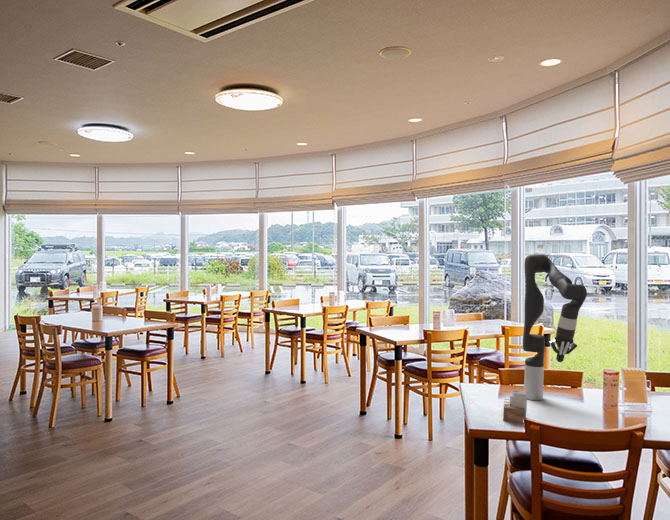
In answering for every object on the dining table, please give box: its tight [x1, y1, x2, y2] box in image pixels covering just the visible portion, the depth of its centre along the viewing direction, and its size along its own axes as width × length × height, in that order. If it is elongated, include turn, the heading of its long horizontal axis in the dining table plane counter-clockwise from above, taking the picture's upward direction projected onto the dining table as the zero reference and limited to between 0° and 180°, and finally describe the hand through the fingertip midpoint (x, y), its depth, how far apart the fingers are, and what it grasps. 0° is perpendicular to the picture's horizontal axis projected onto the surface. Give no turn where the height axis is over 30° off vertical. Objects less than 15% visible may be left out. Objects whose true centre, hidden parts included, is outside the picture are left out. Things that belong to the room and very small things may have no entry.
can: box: [509, 390, 528, 419], centre depth 231 cm, size 8×8×12 cm
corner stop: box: [502, 398, 526, 424], centre depth 232 cm, size 14×9×7 cm, turn 160°
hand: (559, 361), depth 234 cm, fingers closed
